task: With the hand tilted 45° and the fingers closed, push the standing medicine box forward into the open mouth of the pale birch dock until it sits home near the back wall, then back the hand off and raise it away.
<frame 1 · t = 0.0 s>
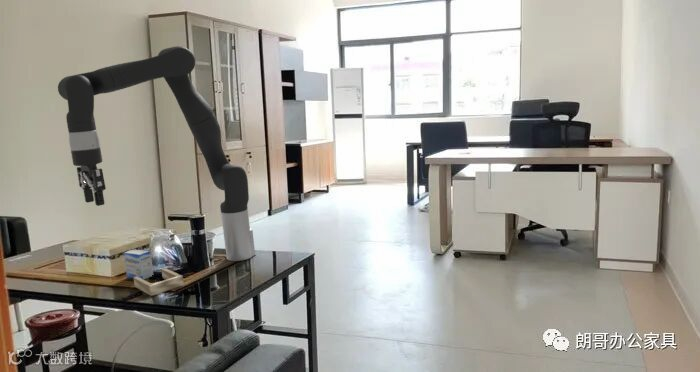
hand: (95, 203, 152), 29 cm above the table, tool pointing down, fingers open, 8 cm apart
dock: (157, 285, 166), on the table
medicine box: (140, 277, 176), on the table
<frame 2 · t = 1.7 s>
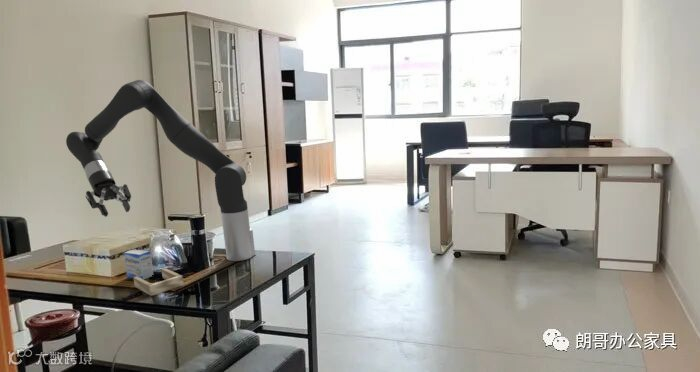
hand: (117, 212, 180), 20 cm above the table, tool tilted 45°, fingers open, 6 cm apart
nothing on the table moved.
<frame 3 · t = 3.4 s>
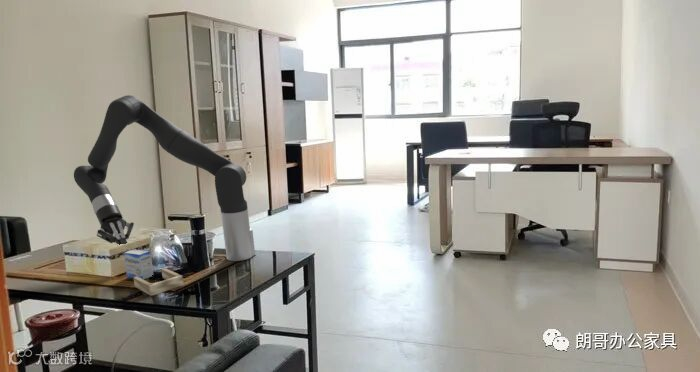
hand: (125, 249, 181), 8 cm above the table, tool tilted 45°, fingers closed
nothing on the table moved.
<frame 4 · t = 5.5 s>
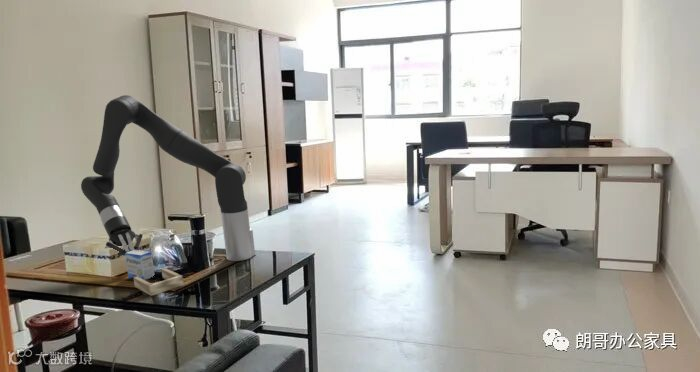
hand: (134, 262, 178), 4 cm above the table, tool tilted 45°, fingers closed
medicine box: (141, 277, 175), on the table, touching gripper
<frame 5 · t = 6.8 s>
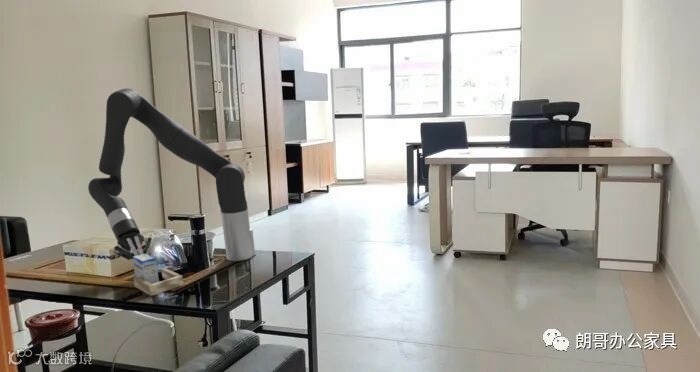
hand: (143, 266, 172), 4 cm above the table, tool tilted 45°, fingers closed
medicine box: (147, 283, 169), on the table, touching gripper
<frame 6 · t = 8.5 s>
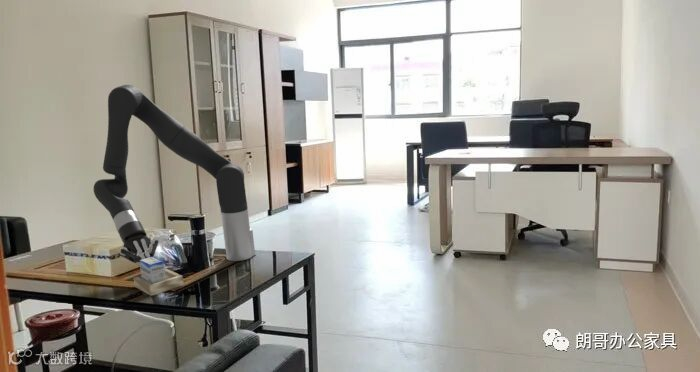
hand: (150, 269, 168), 4 cm above the table, tool tilted 45°, fingers closed
medicine box: (155, 287, 165), on the table, touching gripper
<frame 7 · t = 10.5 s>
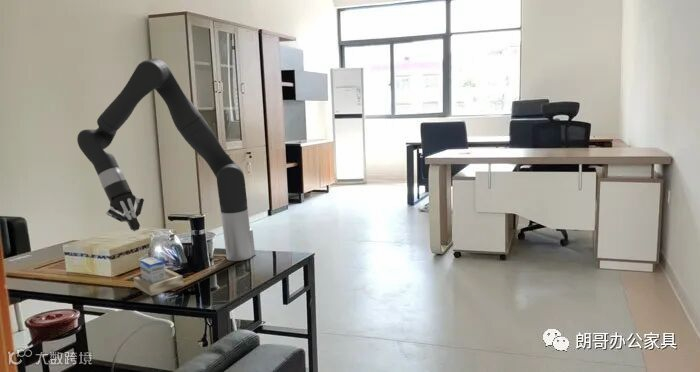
hand: (136, 229, 178), 15 cm above the table, tool tilted 25°, fingers closed
medicine box: (155, 287, 165), on the table
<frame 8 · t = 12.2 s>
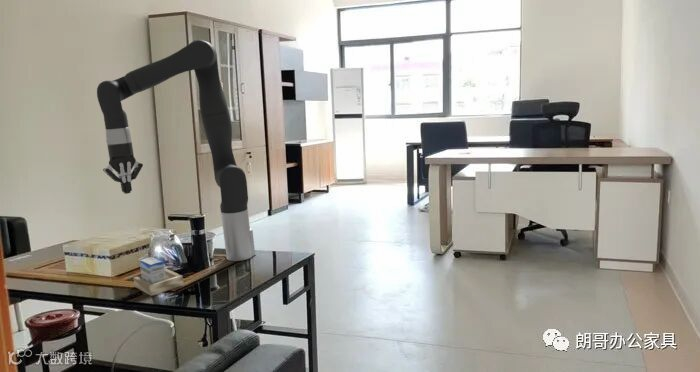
hand: (127, 193, 178), 27 cm above the table, tool pointing down, fingers closed
nothing on the table moved.
at the end: medicine box inside the target area on the dock (1.2 cm from its centre), point 0.0 cm above the dock's base; medicine box tilted 0°; medicine box moved 13.9 cm from its start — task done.
